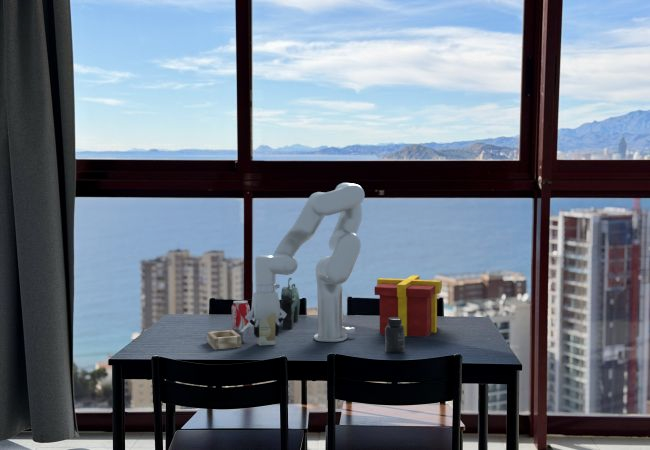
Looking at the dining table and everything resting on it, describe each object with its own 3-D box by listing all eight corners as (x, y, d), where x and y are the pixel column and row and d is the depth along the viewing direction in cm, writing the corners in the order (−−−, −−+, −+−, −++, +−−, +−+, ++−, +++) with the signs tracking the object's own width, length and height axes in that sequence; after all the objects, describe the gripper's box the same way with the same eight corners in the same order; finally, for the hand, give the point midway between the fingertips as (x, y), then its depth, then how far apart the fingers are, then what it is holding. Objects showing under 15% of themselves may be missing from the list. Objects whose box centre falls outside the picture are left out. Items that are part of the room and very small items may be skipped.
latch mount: (239, 339, 328) (239, 329, 328) (243, 342, 322) (243, 332, 322) (232, 340, 327) (231, 329, 327) (236, 343, 321) (235, 332, 321)
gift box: (433, 339, 325) (433, 286, 323) (369, 335, 333) (369, 283, 332) (446, 326, 349) (446, 276, 347) (386, 322, 357) (386, 274, 355)
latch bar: (261, 316, 329) (257, 312, 328) (263, 317, 326) (260, 314, 325) (240, 336, 327) (236, 332, 326) (242, 338, 323) (239, 334, 323)
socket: (233, 340, 327) (233, 330, 326) (241, 347, 315) (241, 336, 315) (207, 342, 323) (207, 332, 323) (214, 349, 312) (214, 338, 312)
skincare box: (259, 346, 317) (258, 313, 316) (257, 343, 321) (256, 311, 320) (276, 344, 319) (275, 312, 317) (273, 342, 323) (273, 310, 322)
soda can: (246, 333, 339) (246, 303, 338) (229, 332, 340) (229, 302, 339) (252, 329, 346) (251, 300, 345) (235, 329, 347) (234, 299, 346)
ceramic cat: (293, 330, 344) (292, 280, 342) (277, 329, 345) (276, 280, 343) (302, 320, 364) (301, 273, 362) (287, 319, 365) (286, 273, 363)
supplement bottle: (403, 349, 310) (403, 316, 309) (405, 353, 303) (405, 320, 302) (384, 349, 309) (384, 316, 308) (386, 354, 303) (386, 320, 302)
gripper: (284, 285, 324) (285, 332, 326) (240, 288, 318) (241, 336, 320) (291, 288, 317) (291, 336, 319) (245, 291, 311) (246, 340, 313)
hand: (266, 335), depth 319 cm, fingers closed on skincare box, 6 cm apart
